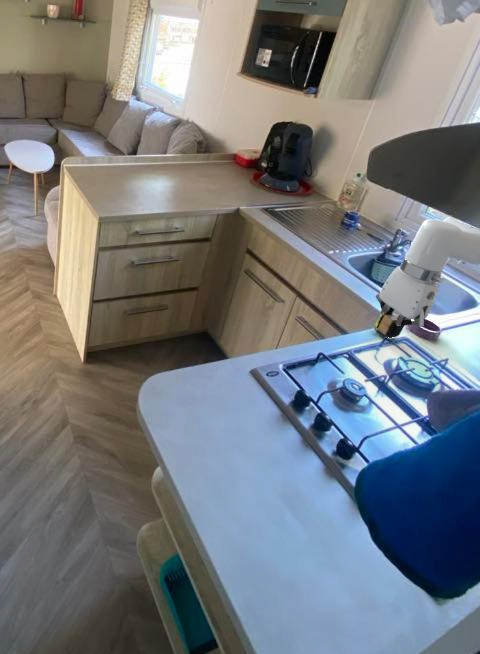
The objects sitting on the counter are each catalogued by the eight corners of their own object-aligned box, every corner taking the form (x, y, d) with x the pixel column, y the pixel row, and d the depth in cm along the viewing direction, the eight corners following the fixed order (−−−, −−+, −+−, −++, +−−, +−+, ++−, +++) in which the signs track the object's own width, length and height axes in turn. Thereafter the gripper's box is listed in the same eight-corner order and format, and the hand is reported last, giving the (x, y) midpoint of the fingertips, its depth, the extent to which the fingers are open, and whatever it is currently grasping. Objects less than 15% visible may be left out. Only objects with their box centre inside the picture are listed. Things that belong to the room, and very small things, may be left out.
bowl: (428, 326, 132) (432, 319, 131) (443, 343, 125) (448, 335, 124) (401, 321, 133) (405, 313, 132) (415, 337, 125) (419, 329, 124)
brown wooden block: (387, 331, 109) (396, 314, 107) (394, 337, 107) (404, 319, 105) (375, 332, 108) (384, 314, 106) (382, 338, 106) (392, 320, 104)
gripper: (464, 289, 94) (426, 353, 101) (401, 253, 108) (372, 312, 115) (440, 289, 92) (403, 355, 99) (379, 253, 106) (350, 313, 113)
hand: (386, 331), depth 107 cm, fingers closed on brown wooden block, 2 cm apart
